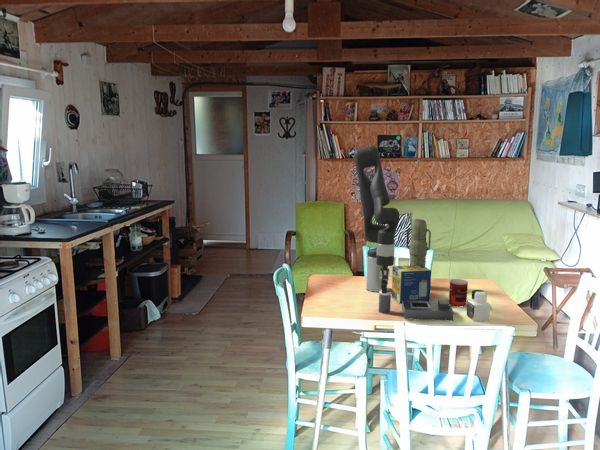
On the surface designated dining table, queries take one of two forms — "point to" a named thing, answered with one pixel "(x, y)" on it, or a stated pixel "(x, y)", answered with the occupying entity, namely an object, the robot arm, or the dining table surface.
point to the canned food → (458, 292)
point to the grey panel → (427, 310)
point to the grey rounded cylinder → (384, 301)
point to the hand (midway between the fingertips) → (383, 290)
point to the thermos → (418, 242)
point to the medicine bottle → (478, 306)
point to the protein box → (411, 283)
